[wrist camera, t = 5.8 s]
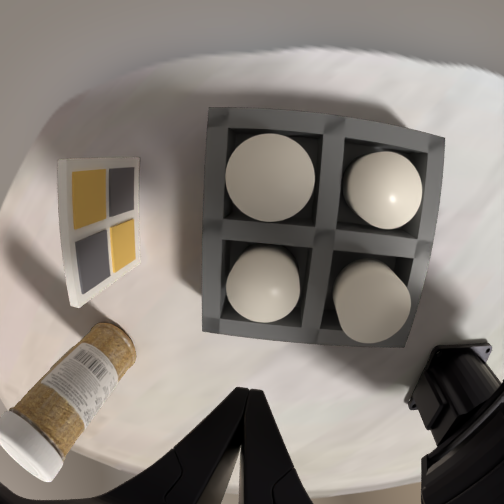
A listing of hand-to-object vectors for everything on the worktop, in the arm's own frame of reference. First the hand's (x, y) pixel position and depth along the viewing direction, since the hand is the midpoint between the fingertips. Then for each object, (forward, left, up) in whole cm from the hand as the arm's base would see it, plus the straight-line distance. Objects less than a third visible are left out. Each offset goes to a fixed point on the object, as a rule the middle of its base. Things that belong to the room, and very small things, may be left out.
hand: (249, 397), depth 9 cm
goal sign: (+9, -4, -10) cm, 14 cm away
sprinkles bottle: (+12, +7, -10) cm, 17 cm away
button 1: (-5, -1, -8) cm, 9 cm away
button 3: (0, -1, -9) cm, 9 cm away
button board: (-2, -4, -10) cm, 11 cm away
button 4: (0, -6, -8) cm, 10 cm away
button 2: (-5, -6, -9) cm, 12 cm away
